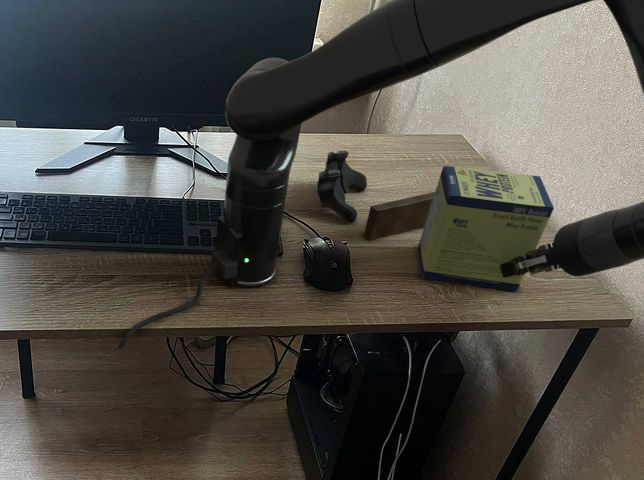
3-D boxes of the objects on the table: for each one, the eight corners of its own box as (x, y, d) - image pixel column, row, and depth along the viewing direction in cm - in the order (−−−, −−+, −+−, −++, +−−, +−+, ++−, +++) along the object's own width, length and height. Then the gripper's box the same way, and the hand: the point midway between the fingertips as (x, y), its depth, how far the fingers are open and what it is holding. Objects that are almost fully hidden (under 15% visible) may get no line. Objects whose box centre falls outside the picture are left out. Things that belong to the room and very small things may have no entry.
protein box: (519, 292, 113) (556, 207, 103) (421, 279, 115) (448, 194, 104) (508, 257, 121) (541, 175, 110) (416, 246, 122) (441, 164, 112)
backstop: (369, 240, 123) (376, 210, 119) (363, 235, 124) (370, 206, 120) (456, 219, 130) (466, 190, 126) (450, 215, 131) (459, 186, 127)
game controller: (336, 193, 141) (321, 148, 137) (370, 184, 138) (355, 138, 133) (322, 232, 130) (304, 184, 125) (357, 224, 126) (341, 174, 121)
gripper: (628, 207, 96) (528, 239, 112) (557, 224, 91) (465, 256, 108) (643, 259, 96) (541, 284, 112) (574, 279, 91) (478, 302, 108)
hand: (504, 270), depth 110 cm, fingers closed
